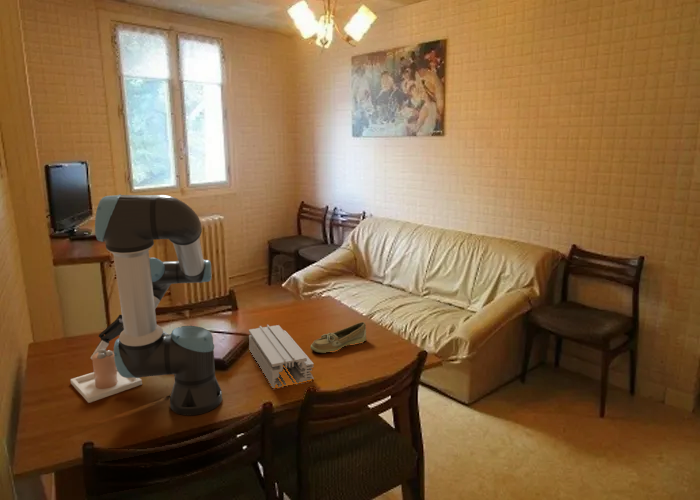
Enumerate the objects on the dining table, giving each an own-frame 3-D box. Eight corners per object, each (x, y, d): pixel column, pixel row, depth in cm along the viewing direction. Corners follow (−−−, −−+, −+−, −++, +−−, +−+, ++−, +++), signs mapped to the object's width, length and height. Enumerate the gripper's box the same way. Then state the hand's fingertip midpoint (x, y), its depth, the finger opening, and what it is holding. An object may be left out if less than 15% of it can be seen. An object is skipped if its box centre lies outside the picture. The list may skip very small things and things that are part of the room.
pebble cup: (120, 384, 155) (117, 349, 152) (99, 391, 150) (95, 355, 147) (113, 377, 159) (109, 343, 156) (92, 383, 154) (88, 348, 152)
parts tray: (142, 387, 155) (141, 380, 154) (88, 405, 144) (88, 398, 143) (122, 370, 166) (122, 363, 165) (71, 386, 154) (70, 379, 154)
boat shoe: (305, 350, 185) (305, 331, 183) (353, 334, 201) (353, 316, 199) (321, 359, 178) (322, 339, 176) (369, 341, 193) (370, 323, 192)
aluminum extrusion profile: (285, 346, 188) (285, 322, 186) (313, 381, 161) (313, 354, 159) (249, 352, 182) (248, 327, 180) (272, 390, 155) (272, 361, 153)
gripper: (175, 319, 161) (140, 379, 151) (127, 305, 173) (91, 360, 163) (161, 309, 155) (123, 370, 146) (112, 295, 167) (74, 351, 158)
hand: (106, 365), depth 154 cm, fingers open, 13 cm apart
